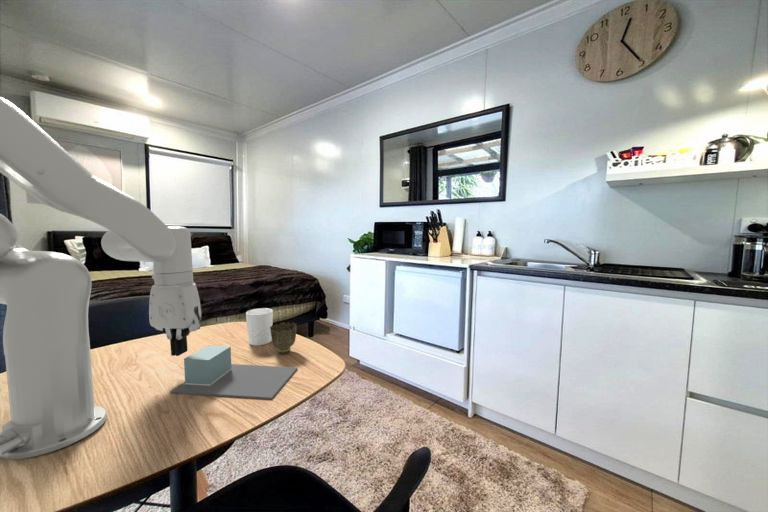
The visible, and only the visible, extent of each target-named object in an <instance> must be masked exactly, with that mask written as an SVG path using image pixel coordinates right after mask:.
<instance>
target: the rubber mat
mask: <svg viewBox="0 0 768 512" xmlns="http://www.w3.org/2000/svg"><path fill="white" fill-rule="evenodd" d="M297 371H298V367H294V366H277V365H274V366H273V365H258V364H257V365H256V364H255V365H254V364H240V363H239V364H238V363H237V364H236V363H231V370H230V371H229V372H228V373H226V374H225V375H224V376H222V377H221V378H220V379H218V380H217V381H216V382H214V383H213V384H212V385H210V386H204V385H188V384H185V381H184V382H183V383H181V384H179V385H177V386H176V387H174V388H173V389H171V390H170V394H178V395H179V394H181V395H193V396H194V395H196V396H197V395H198V396H211V397H227V398H228V397H230V398H242V399H243V398H244V399H247V398H248V399H257V400H258V399H259V400H261V399H262V400H273V399H274V398H275V396H276V395H277V394H278V393H279V391H281V389H282V388H283V387H284V386H285V384H286V383H287V382H288V380H289V379H291V377H293V375H294V374H295V372H297Z"/></svg>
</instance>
